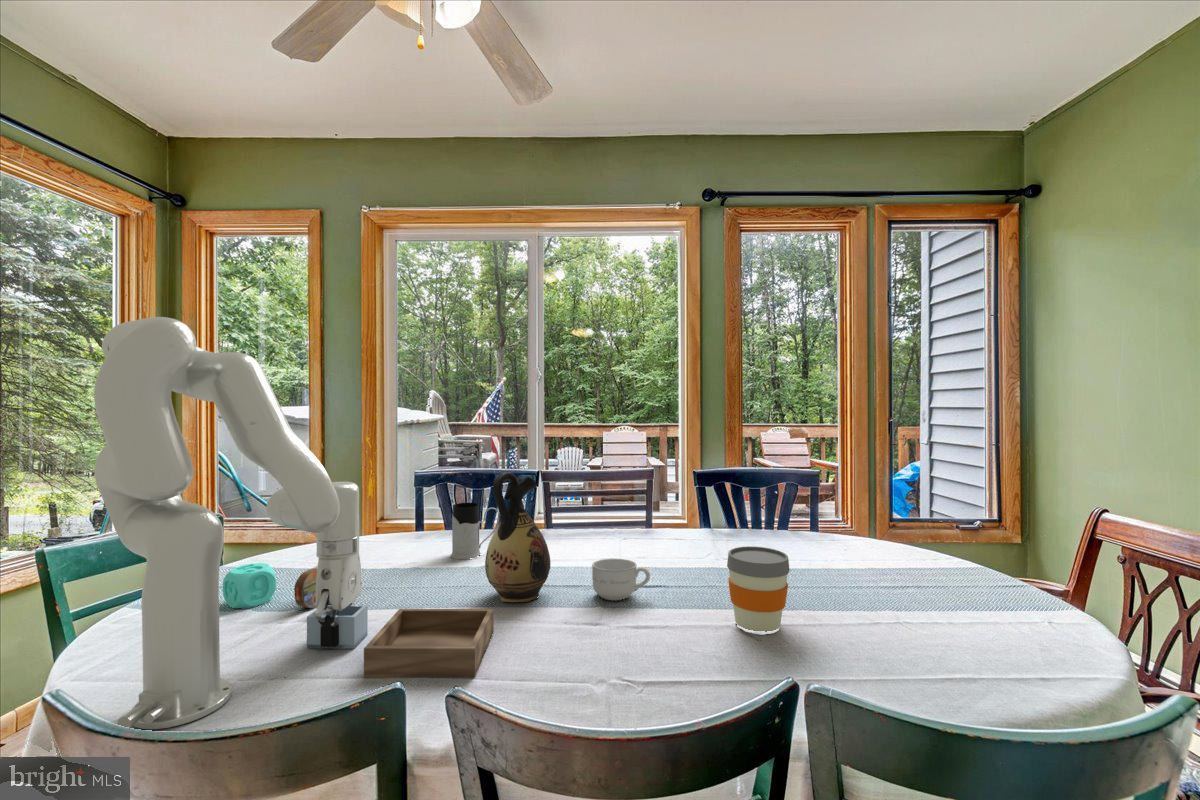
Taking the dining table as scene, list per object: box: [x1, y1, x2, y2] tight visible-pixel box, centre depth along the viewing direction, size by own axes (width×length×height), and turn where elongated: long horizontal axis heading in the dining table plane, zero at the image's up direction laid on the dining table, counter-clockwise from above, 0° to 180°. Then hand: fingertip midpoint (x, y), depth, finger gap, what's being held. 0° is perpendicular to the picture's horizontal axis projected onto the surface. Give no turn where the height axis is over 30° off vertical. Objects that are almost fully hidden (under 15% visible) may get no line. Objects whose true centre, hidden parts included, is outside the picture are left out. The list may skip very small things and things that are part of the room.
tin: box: [293, 565, 318, 609], centre depth 129 cm, size 15×3×8 cm, turn 168°
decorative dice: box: [222, 562, 277, 609], centre depth 128 cm, size 8×8×8 cm
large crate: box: [363, 608, 495, 678], centre depth 103 cm, size 17×19×5 cm
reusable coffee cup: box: [726, 546, 791, 632], centre depth 115 cm, size 13×12×15 cm
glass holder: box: [450, 502, 500, 560], centre depth 165 cm, size 9×14×15 cm, turn 107°
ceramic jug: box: [484, 471, 551, 603], centre depth 131 cm, size 17×15×30 cm
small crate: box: [306, 604, 369, 650], centre depth 108 cm, size 6×9×6 cm, turn 90°
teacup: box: [591, 558, 651, 601], centre depth 131 cm, size 14×11×8 cm
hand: (338, 637), depth 108 cm, fingers closed on small crate, 6 cm apart
